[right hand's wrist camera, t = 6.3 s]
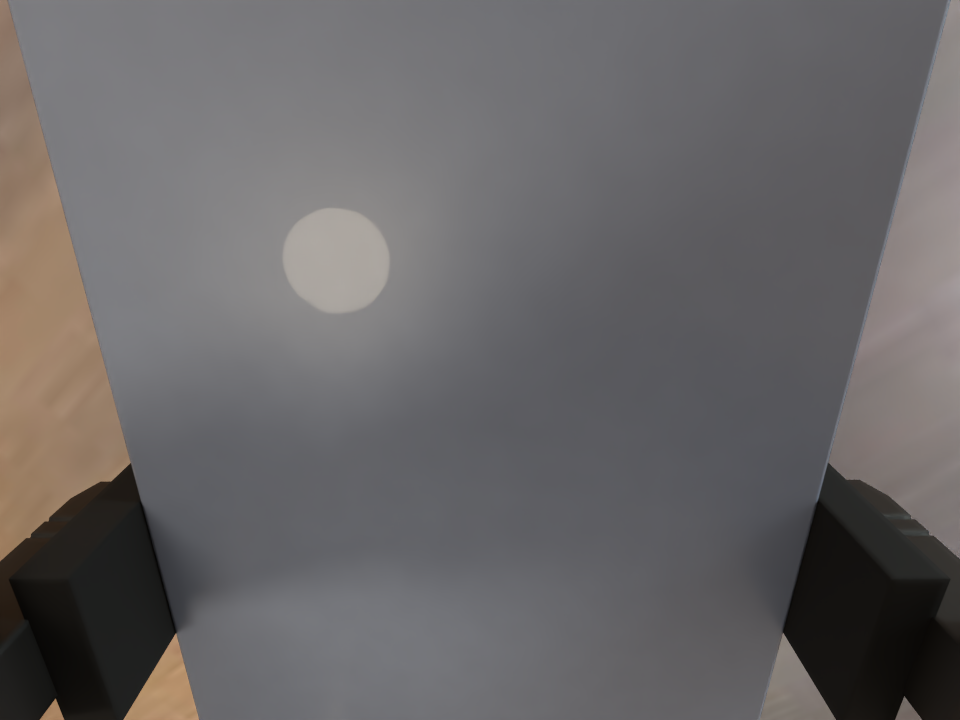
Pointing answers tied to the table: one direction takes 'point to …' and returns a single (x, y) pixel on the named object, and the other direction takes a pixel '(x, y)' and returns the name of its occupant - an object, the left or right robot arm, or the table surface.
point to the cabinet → (479, 329)
